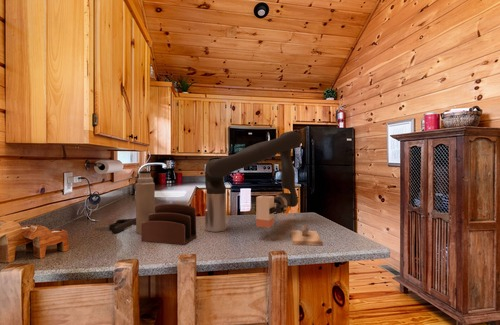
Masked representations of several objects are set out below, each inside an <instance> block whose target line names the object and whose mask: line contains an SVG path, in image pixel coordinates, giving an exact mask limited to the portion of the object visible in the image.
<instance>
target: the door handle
mask: <svg viewBox="0 0 500 325" xmlns="http://www.w3.org/2000/svg"><path fill="white" fill-rule="evenodd" d="M135 225H136V217H134V218H123V219H117V220H116V222H114V223H111V224H108V225H99V226H98V225H96V226H94V228H93V229H94V231H111V233H112V234H118V233H120V232H122V231H126V230H128V229H130V228H131V227H134V226H135Z"/></svg>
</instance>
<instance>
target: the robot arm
mask: <svg viewBox="0 0 500 325" xmlns="http://www.w3.org/2000/svg"><path fill="white" fill-rule="evenodd" d="M301 140H302V137H301V135H300V133H298V132H297V131H293V130H290V131H285V132H282V133H281V134H280V135H279V137H276V138H274V139H270V140H266V141H265V140H264V141H261V142H257V143H255V144H252V145H249V146H247V147H244V148H242V149H241V150H239V151H237V152H236V153H234V154H231V155H229V156H226V157H221V158H214V159H211V160H210V159H209V161H207V162H206V164H205V167H204V179H205V180H204V181H205V182H204V183H205V189H206V190H205V191H206V192H205V195H206V196H205V198H206V199H205V200H206V202H205V203H206V208H205V210H204V217H205V218H204V228H205V229H204V231H207V232H211V233H213V232H214V233H217V232H224V231H226V230H227V187H226V184H225V177H226V176H228V175H230V174H232V173H234V172H236V171H238V170H240V169H244V168H247V167H251V166H252V165H255V164H258V163H260V162H263V161H265V160H268V159H270V158H271V157H274V156H276V155H278V154H279V155H280V163H281V164H280V165H281V188H283V189H286V190H288V191H289V192H280V193H279V194H278V195H276V196H274V207H272V208H270V209H269V214H272V213H274V215H277V214H282V213H284V212H287V208H288V207H290V208H294V207H297V206H298V204H299V199H298V198H299V197H298V194H297V190H296V173H295V172H296V171H295V167H294V165H293V161H292V150H293V149H296V148H297V147H299V145H300V144H301ZM254 212H255V213H256V203H255V204H254Z"/></svg>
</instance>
